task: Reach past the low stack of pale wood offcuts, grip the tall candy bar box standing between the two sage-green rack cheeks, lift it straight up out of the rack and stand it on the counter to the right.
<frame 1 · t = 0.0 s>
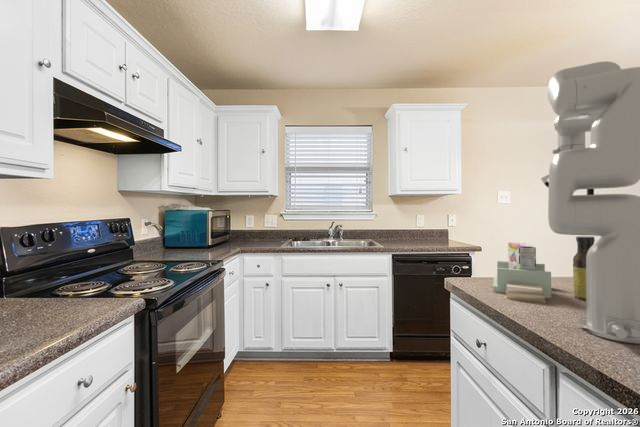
hand: (571, 199, 106), 31 cm above the worktop, tool pointing down, fingers open, 9 cm apart
pine offcut: (524, 303, 90), on the worktop, touching birch offcut
birch offcut: (524, 298, 90), point 1 cm above the worktop, touching pine offcut
ash offcut: (524, 292, 90), point 3 cm above the worktop
candy bar box: (521, 293, 100), on the worktop
sauce bottle: (587, 303, 88), on the worktop
rack: (521, 292, 100), on the worktop
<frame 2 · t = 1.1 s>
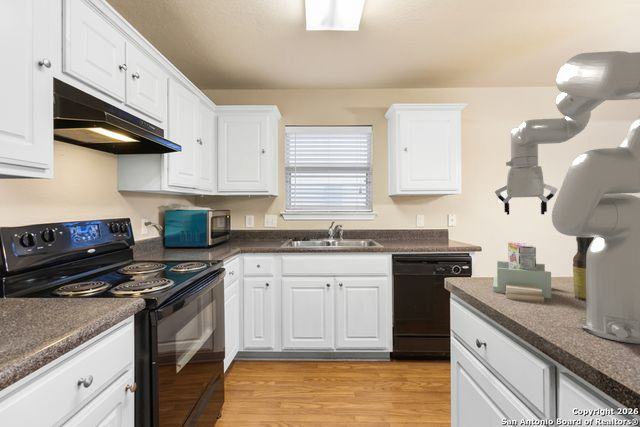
hand: (524, 214, 100), 26 cm above the worktop, tool pointing down, fingers open, 9 cm apart
nothing on the worktop moved.
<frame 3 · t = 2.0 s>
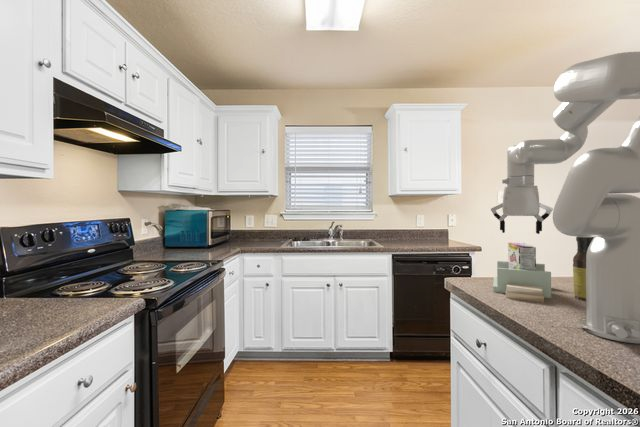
hand: (520, 232, 100), 20 cm above the worktop, tool pointing down, fingers open, 9 cm apart
nothing on the worktop moved.
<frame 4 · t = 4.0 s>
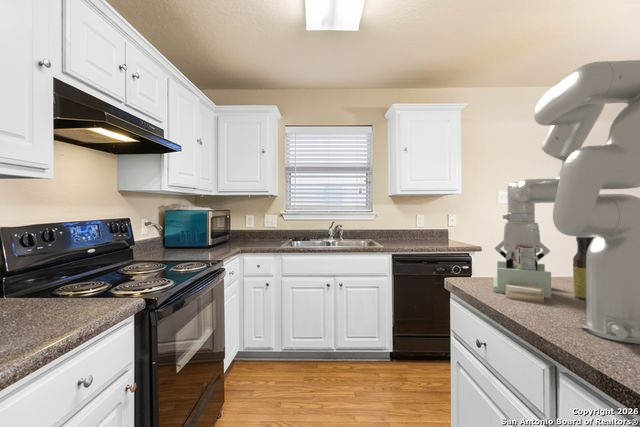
hand: (521, 271, 100), 7 cm above the worktop, tool pointing down, fingers closed on candy bar box, 5 cm apart
birch offcut: (524, 298, 90), point 1 cm above the worktop, touching ash offcut, pine offcut
ash offcut: (524, 292, 90), point 3 cm above the worktop, touching birch offcut
candy bar box: (521, 293, 100), on the worktop, touching gripper
everything else where it was.
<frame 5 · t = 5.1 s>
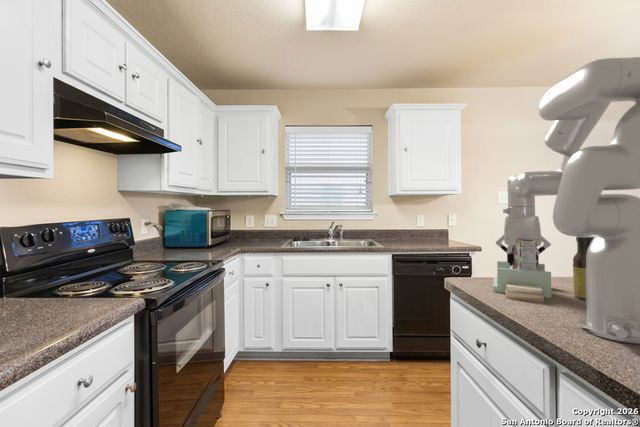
hand: (522, 265, 99), 9 cm above the worktop, tool pointing down, fingers closed on candy bar box, 5 cm apart
candy bar box: (523, 287, 99), point 2 cm above the worktop, touching gripper
everything else where it was.
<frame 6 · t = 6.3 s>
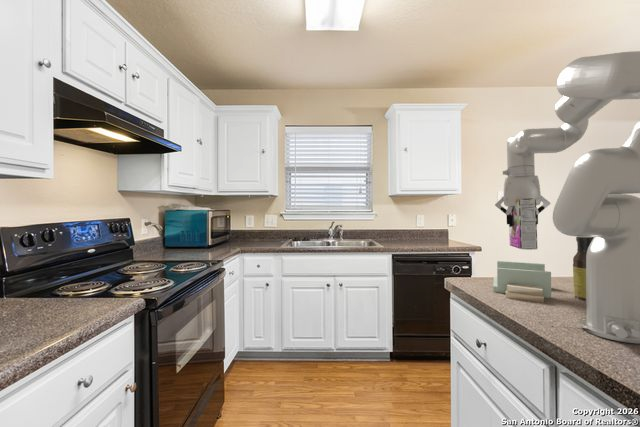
hand: (522, 226, 99), 23 cm above the worktop, tool pointing down, fingers closed on candy bar box, 5 cm apart
birch offcut: (524, 298, 90), point 1 cm above the worktop, touching pine offcut
ash offcut: (524, 292, 91), point 3 cm above the worktop
candy bar box: (522, 248, 99), point 15 cm above the worktop, touching gripper
everything else where it was.
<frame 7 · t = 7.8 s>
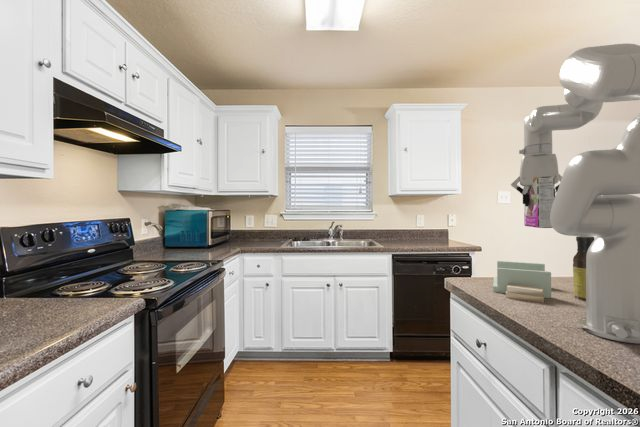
hand: (538, 205, 99), 29 cm above the worktop, tool pointing down, fingers closed on candy bar box, 5 cm apart
birch offcut: (524, 298, 90), point 1 cm above the worktop, touching ash offcut, pine offcut
ash offcut: (524, 292, 90), point 3 cm above the worktop, touching birch offcut
candy bar box: (538, 227, 99), point 22 cm above the worktop, touching gripper
everything else where it was.
when the fingers open (8 cm above the worktop, at t = 13.8 s): candy bar box drops 1 cm, on the worktop.
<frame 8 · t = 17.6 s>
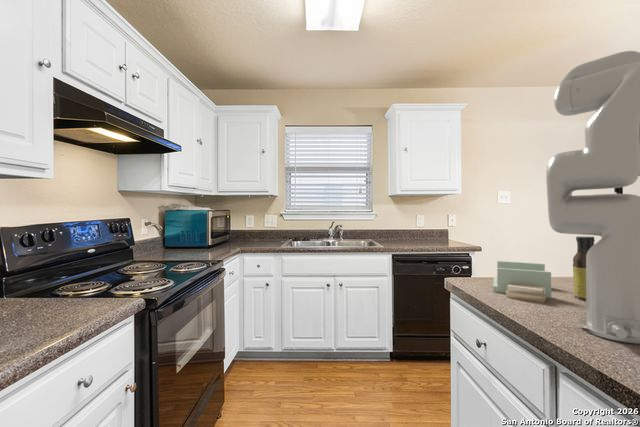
candy bar box: (601, 295, 96), on the worktop
everything else where it was.
at the end: candy bar box inside the target area (0.2 cm from its centre), on the worktop; candy bar box tilted 0°; the gripper is holding nothing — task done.
